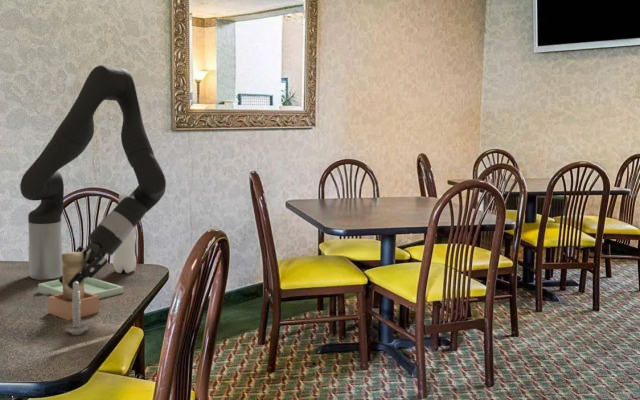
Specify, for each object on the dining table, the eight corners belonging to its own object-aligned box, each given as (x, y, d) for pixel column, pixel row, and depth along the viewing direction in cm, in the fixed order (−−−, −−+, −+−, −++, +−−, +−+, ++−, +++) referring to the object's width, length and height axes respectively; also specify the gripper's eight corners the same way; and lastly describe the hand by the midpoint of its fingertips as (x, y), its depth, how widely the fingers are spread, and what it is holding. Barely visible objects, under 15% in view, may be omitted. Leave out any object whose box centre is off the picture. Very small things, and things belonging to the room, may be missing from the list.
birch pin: (59, 312, 159) (57, 254, 157) (77, 308, 163) (76, 251, 161) (70, 316, 156) (69, 257, 154) (88, 312, 160) (87, 253, 158)
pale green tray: (38, 292, 179) (38, 283, 179) (82, 283, 190) (82, 274, 190) (78, 306, 167) (78, 297, 167) (123, 295, 178) (123, 286, 178)
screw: (86, 339, 143) (63, 340, 142) (89, 332, 148) (67, 333, 147) (85, 283, 141) (62, 283, 140) (88, 277, 146) (66, 278, 145)
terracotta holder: (48, 316, 159) (48, 296, 158) (79, 308, 166) (79, 289, 165) (68, 323, 154) (67, 303, 153) (99, 315, 160) (99, 296, 160)
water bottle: (129, 275, 201) (128, 196, 198) (108, 273, 203) (107, 195, 199) (140, 269, 208) (139, 194, 205) (120, 268, 210) (119, 193, 206)
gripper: (89, 219, 167) (44, 271, 160) (113, 227, 156) (66, 282, 150) (109, 237, 171) (65, 288, 165) (134, 246, 161) (88, 300, 154)
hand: (66, 285), depth 157 cm, fingers closed on birch pin, 5 cm apart
